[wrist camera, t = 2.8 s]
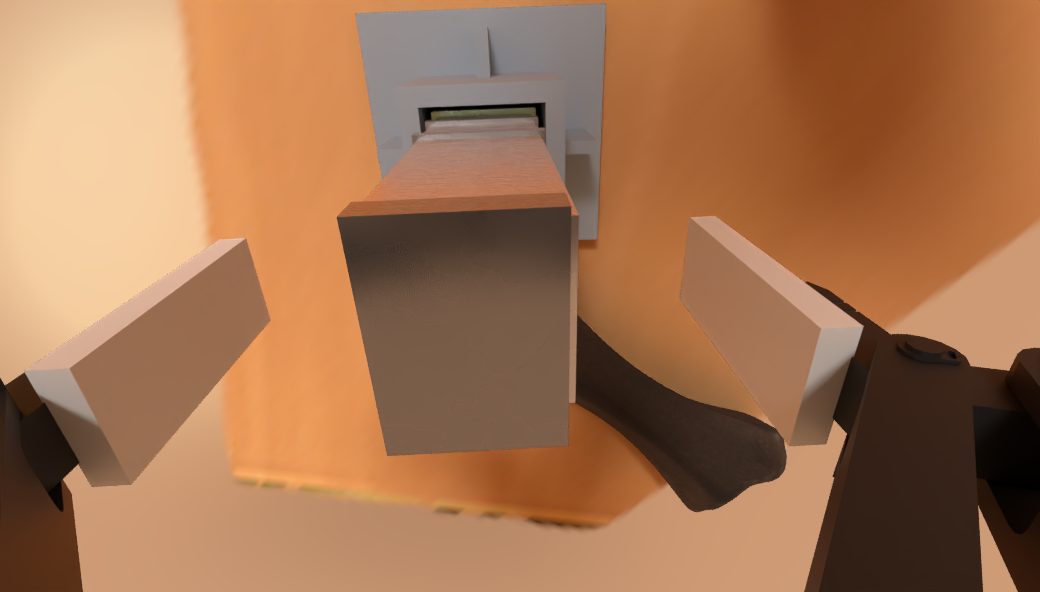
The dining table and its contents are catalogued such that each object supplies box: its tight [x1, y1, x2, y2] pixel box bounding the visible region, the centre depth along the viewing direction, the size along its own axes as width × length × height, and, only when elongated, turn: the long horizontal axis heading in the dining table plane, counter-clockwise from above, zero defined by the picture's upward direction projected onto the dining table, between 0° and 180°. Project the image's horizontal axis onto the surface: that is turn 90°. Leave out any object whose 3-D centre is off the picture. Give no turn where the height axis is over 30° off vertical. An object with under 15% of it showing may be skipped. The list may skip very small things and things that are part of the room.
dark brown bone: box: [575, 315, 787, 512], centre depth 44 cm, size 11×10×28 cm
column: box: [337, 103, 579, 456], centre depth 23 cm, size 6×6×27 cm
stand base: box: [355, 4, 606, 240], centre depth 31 cm, size 16×16×12 cm
